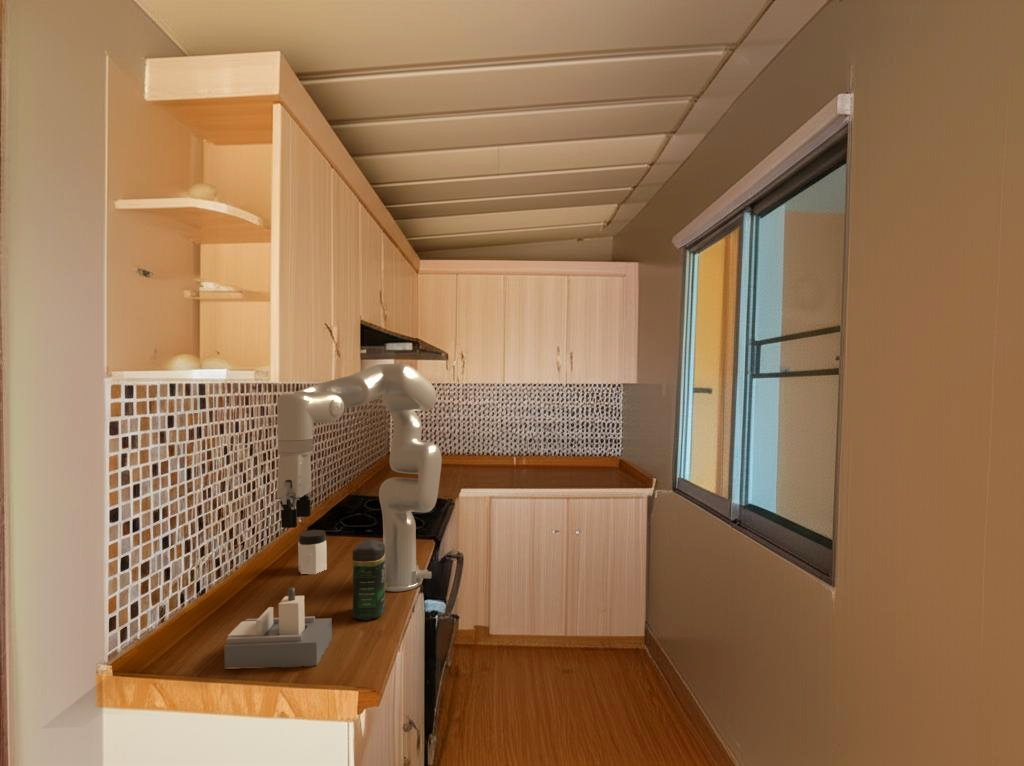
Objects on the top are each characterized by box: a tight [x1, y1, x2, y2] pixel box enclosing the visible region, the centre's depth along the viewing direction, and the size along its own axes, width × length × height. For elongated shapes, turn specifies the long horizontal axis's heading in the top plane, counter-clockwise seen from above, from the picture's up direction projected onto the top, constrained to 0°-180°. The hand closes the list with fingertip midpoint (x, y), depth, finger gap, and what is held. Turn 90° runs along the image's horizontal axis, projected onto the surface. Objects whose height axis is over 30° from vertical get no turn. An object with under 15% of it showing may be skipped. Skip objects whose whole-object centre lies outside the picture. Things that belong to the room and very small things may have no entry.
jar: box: [297, 529, 328, 575], centre depth 176 cm, size 9×8×12 cm
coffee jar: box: [351, 539, 386, 621], centre depth 143 cm, size 10×8×19 cm
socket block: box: [223, 615, 333, 669], centre depth 122 cm, size 19×12×6 cm, turn 93°
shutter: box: [227, 606, 274, 638], centre depth 122 cm, size 7×7×4 cm
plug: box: [278, 587, 306, 635], centre depth 122 cm, size 4×4×14 cm
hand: (296, 521), depth 126 cm, fingers open, 9 cm apart
